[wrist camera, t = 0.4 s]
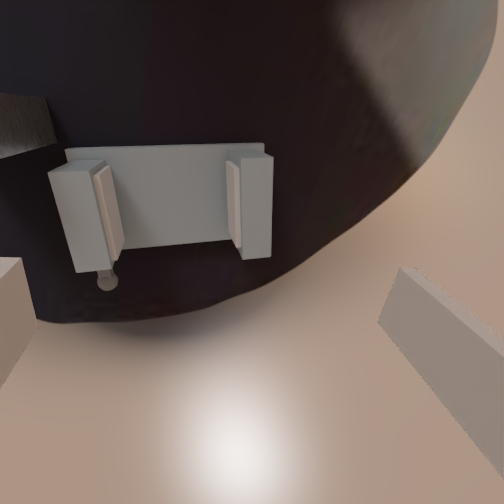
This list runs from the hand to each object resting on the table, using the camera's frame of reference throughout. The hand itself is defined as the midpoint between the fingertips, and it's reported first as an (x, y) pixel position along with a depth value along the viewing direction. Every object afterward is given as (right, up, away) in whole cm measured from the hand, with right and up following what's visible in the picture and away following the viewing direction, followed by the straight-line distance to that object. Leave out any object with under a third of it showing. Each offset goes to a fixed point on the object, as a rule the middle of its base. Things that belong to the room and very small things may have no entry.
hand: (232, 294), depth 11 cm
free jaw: (-15, +5, +22) cm, 27 cm away
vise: (-8, +8, +24) cm, 26 cm away
